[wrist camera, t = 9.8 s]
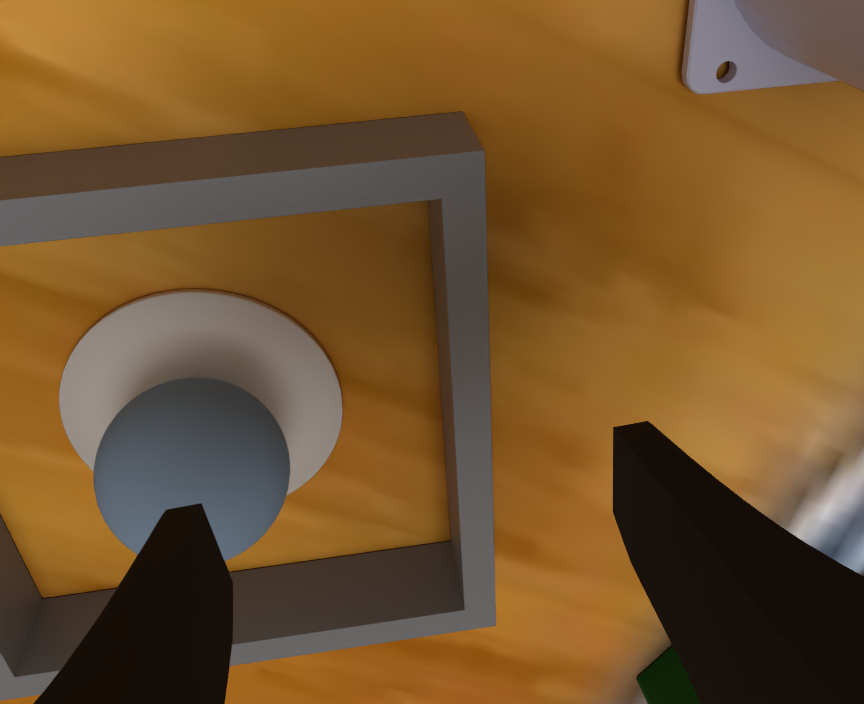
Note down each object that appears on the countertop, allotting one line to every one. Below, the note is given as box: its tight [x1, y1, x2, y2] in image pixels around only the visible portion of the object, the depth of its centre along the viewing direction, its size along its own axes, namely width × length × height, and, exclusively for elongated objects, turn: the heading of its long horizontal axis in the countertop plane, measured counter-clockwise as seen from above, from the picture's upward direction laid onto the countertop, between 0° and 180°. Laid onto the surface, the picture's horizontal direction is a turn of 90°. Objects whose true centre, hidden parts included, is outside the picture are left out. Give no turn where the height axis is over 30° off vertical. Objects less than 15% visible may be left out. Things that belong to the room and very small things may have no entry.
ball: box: [94, 377, 290, 561], centre depth 21 cm, size 5×5×5 cm
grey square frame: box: [0, 112, 496, 701], centre depth 22 cm, size 16×16×3 cm
